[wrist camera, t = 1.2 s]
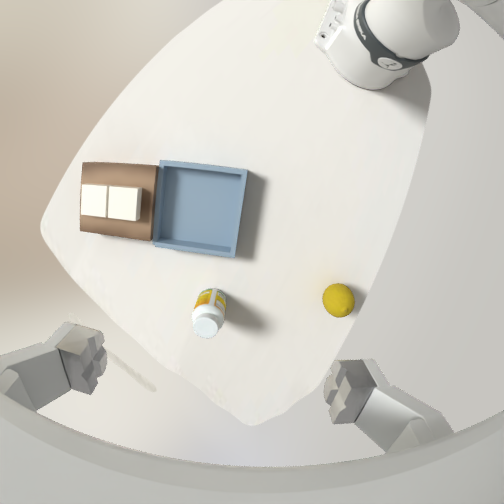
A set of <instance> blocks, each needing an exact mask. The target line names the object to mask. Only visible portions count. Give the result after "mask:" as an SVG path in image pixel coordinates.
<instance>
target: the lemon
mask: <svg viewBox="0 0 504 504" xmlns="http://www.w3.org/2000/svg"><path fill="white" fill-rule="evenodd" d="M323 304H324V307H325V309H326V310H327V311H328V312H329V313H330V314H331V315H333V316H335V317H345V316H347V315H349V314H350V313H351V312H352V310H353V308H354V304H355V300H354V296H353V294H352V291H351V290H350V289H349V288H348V287H347V286H345V285H343V284H339V283H337V284H332V285H330V286H329V287H328V288H327V289H326V290H325V292H324V294H323Z"/></svg>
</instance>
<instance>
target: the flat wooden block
mask: <svg viewBox="0 0 504 504" xmlns="http://www.w3.org/2000/svg"><path fill="white" fill-rule="evenodd" d="M158 172H159V166H156V165H143V164H128V163H107V162H84V163H83V164H82V177H81V192H82V184H87V183H91V184H105V185H112V186H114V185H118V186H130V187H141V188H142V196H141V210H140V219H138V220H137V221H131V220H123V219H114V218H108V216H107V217H98V216H90V215H81V195H80V231H84V232H91V233H98V234H104V235H111V236H118V237H125V238H132V239H139V240H146V241H151V240H152V239H153V229H154V214H155V202H156V191H157V181H158Z"/></svg>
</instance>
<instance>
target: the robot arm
mask: <svg viewBox="0 0 504 504" xmlns="http://www.w3.org/2000/svg"><path fill="white" fill-rule="evenodd" d="M458 1H460V2H462V3H463V4H465V5H467V6H468V7H469V8H470V9H471V10H473V11H474V12H475V13H476V14H477V15H479V16H480V17H481V18H482V19H483V20H484V21H485V22H486V23H487V24H488V25H489V26H490V27H492V28H493V29H494V30H495V31H496V32H497V33H498V34H499V35H500V36H501V37H502V38H503V39H504V0H458ZM459 31H460V24H459V18H458V16H457V13H456V10H455V8H454V6H453V4H452V3H451V1H450V0H330V2H329V5H328V7H327V9H326V12H325V14H324V16H323V19H322V21H321V24H320V26H319V29H318V31H317V33H316V36H315V38H314V43H315V45H316V46H317V47H318V48H319V49H320V50H322V51H323V52H324V53H325V54H326V55H327V56H328V58H329V60H330V62H331V63H332V65H333V67H334V68H335V69H336V70H337V72H338V73H339V74H340V75H341V76H342V77H344V78H345V79H346V80H348V81H349V82H351V83H352V84H354V85H356V86H359V87H361V88H365V89H371V90H377V89H382V88H385V87H387V86H388V85H390V84H391V83H392V82H393V81H394V80H395V79H396V78H401V77H404V76H406V75H407V74H408V73H409V69H411V68H412V67H414V66H415V65H417V64H420V63H422V62H423V61H424V60H426V59H427V58H428V57H429V55H430V54H432V53H434V52H437V51H439V50H441V49H443V48H446V47H448V46H450V45H452V44H453V43H454V42H455V40H456V39H457V37H458V35H459ZM321 36H324V37H325V38H323V37H321ZM103 343H104V336H103V333H102V332H101V331H98V330H95V329H91V328H88V327H84V326H81V325H77V324H74V323H71V322H65V323H64V324H62V326H61V327H59V328H58V330H57V331H56V332H55V333H54V334H53V335H52V336H51V337H50V338H49V339H48V340H47V341H46V342H45V343H44V344H43V343H38V344H35V345H32V346H29V347H26V348H22V349H19V350H16V351H13V352H10V353H7V354H4V355H1V356H0V504H504V410H503V411H502V412H500V413H498V414H496V415H494V416H492V417H490V418H488V419H486V420H484V421H482V422H480V423H477V424H475V425H473V426H471V427H468V428H466V429H464V430H461V431H459V432H456V433H454V432H453V430H452V428H451V427H450V425H449V424H448V422H447V421H446V419H445V418H444V416H443V415H442V413H441V412H439V411H438V410H436V409H434V408H432V407H430V406H429V405H427V404H425V403H423V402H422V401H420V400H418V399H416V398H415V397H413V396H411V395H409V394H408V393H406V392H404V391H403V390H401V389H399V388H397V387H396V386H390V384H389V382H388V381H387V379H386V377H385V376H384V374H383V373H382V371H381V369H380V368H379V366H378V365H377V363H376V361H375V360H373V359H360V360H335V361H334V362H333V363H332V366H331V371H332V374H331V375H330V376H329V377H328V378H327V379H326V382H325V385H324V398H325V401H326V402H327V403H328V404H329V405H330V406H331V407H330V409H329V413H330V416H331V420H332V423H333V424H344V423H355V425H356V426H357V427H358V428H360V429H361V430H362V431H363V432H364V433H365V434H366V435H367V436H368V437H370V438H371V439H372V440H373V441H374V442H375V443H376V444H377V445H378V446H380V447H381V448H382V449H383V450H384V451H385V452H386V453H385V454H384V455H380V456H374V457H369V458H364V459H359V460H352V461H345V462H338V463H330V464H321V465H309V466H290V467H247V466H231V465H219V464H209V463H201V462H193V461H187V460H181V459H175V458H170V457H164V456H159V455H154V454H151V453H146V452H142V451H138V450H134V449H131V448H127V447H123V446H120V445H116V444H113V443H110V442H107V441H104V440H101V439H98V438H95V437H92V436H89V435H87V434H84V433H81V432H79V431H76V430H74V429H71V428H69V427H66V426H64V425H62V424H59V423H57V422H55V421H52V420H51V419H48V418H46V417H44V416H42V415H40V414H38V413H37V412H36V410H38V409H40V408H42V407H43V406H45V405H47V404H48V403H50V402H52V401H53V400H55V399H57V398H58V397H60V396H62V395H63V394H65V393H67V392H68V391H70V390H71V389H74V390H77V391H80V392H83V393H86V394H89V395H91V394H92V392H93V391H94V389H95V387H96V385H97V384H98V382H97V377H99V376H101V375H103V373H104V371H105V369H106V365H107V353H106V350H105V349H104V348H103V346H102V344H103Z"/></svg>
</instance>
